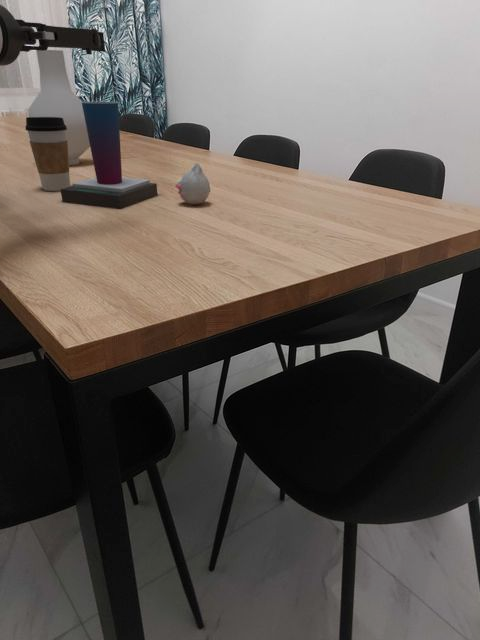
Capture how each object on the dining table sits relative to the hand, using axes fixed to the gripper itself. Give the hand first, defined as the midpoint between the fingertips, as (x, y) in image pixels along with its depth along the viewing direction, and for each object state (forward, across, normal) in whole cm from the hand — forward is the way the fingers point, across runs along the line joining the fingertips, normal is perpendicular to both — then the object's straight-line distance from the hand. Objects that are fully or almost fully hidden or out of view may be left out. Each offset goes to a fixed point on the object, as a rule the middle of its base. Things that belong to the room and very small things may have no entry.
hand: (64, 41), depth 85 cm
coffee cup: (+16, -16, -28) cm, 36 cm away
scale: (+10, 0, -28) cm, 30 cm away
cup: (+10, 0, -25) cm, 27 cm away
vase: (+48, -32, -28) cm, 64 cm away
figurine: (+10, +18, -28) cm, 35 cm away
